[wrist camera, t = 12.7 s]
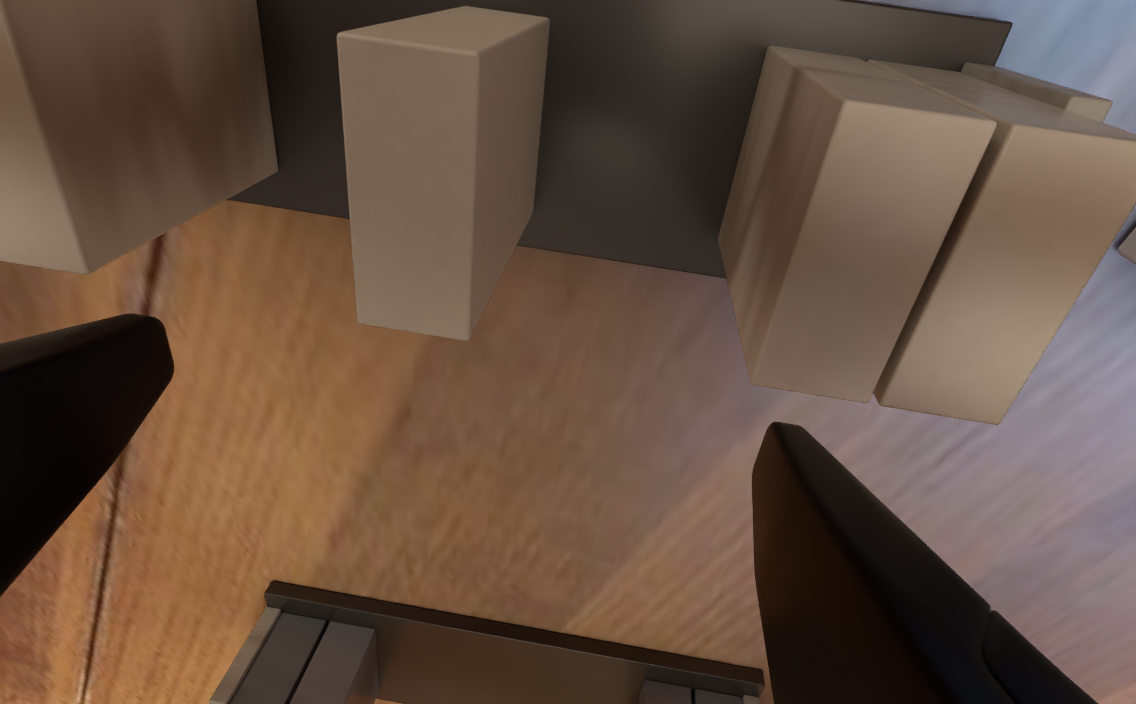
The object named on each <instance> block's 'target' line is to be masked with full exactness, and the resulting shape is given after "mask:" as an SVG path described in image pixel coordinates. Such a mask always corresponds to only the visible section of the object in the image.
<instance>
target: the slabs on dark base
mask: <svg viewBox="0 0 1136 704" xmlns="http://www.w3.org/2000/svg"><path fill="white" fill-rule="evenodd" d="M463 6H470V7H477V8H484V9H491V10H498V11H505V12H512V13H519V14H526V15H533V16H540V17H547V18H549V20H550V28H549V39H548V50H547V62H546V73H545V84H544V95H543V106H542V117H541V129H540V140H539V151H538V162H537V173H536V185H535V196H534V207H533V213H532V215H531V217H530V219H529V221H528V223H527V225H526V227H525V229H524V231H523V233H522V235H521V237H520V239H519V241H518V243H517V245H518V246H525V247H531V248H537V249H544V250H550V251H556V252H563V253H569V254H575V255H582V256H588V257H594V258H601V259H607V260H614V261H620V262H626V263H633V264H639V265H645V266H652V267H658V268H664V269H671V270H677V271H683V272H690V273H696V274H702V275H709V276H715V277H721V278H727V281H728V286H729V290H730V295H731V299H732V304H733V308H734V313H735V317H736V321H737V326H738V330H739V335H740V339H741V344H742V348H743V353H744V357H745V362H746V366H747V371H748V375H749V380H750V383H751V384H753V385H758V386H764V387H770V388H776V389H782V390H788V391H794V392H800V393H806V394H813V395H819V396H825V397H831V398H837V399H843V400H849V401H855V402H861V403H868V402H869V400H870V397H871V395H872V393H874V395H875V397H876V399H877V401H878V403H879V404H880V405H881V406H885V407H891V408H897V409H904V410H910V411H916V412H922V413H928V414H934V415H940V416H946V417H952V418H958V419H964V420H971V421H977V422H983V423H989V424H995V425H998V424H1000V423H1001V421H1002V419H1003V418H1004V416H1005V415H1006V413H1007V411H1008V410H1009V408H1010V407H1011V405H1012V403H1013V402H1014V400H1015V398H1016V397H1017V395H1018V394H1019V392H1020V390H1021V389H1022V387H1023V386H1024V384H1025V382H1026V381H1027V379H1028V377H1029V376H1030V374H1031V373H1032V371H1033V369H1034V368H1035V366H1036V365H1037V363H1038V361H1039V360H1040V358H1041V356H1042V355H1043V353H1044V352H1045V350H1046V348H1047V347H1048V345H1049V344H1050V342H1051V340H1052V339H1053V337H1054V335H1055V334H1056V332H1057V331H1058V329H1059V327H1060V326H1061V324H1062V322H1063V321H1064V319H1065V318H1066V316H1067V314H1068V313H1069V311H1070V310H1071V308H1072V306H1073V305H1074V303H1075V301H1076V300H1077V298H1078V297H1079V295H1080V293H1081V292H1082V290H1083V289H1084V287H1085V285H1086V284H1087V282H1088V280H1089V279H1090V277H1091V276H1092V274H1093V272H1094V271H1095V269H1096V268H1097V266H1098V264H1099V263H1100V261H1101V259H1102V258H1103V256H1104V255H1105V253H1106V251H1107V250H1108V248H1109V247H1110V245H1111V243H1112V242H1113V240H1114V238H1115V237H1116V235H1117V234H1118V232H1119V230H1120V229H1121V227H1122V226H1123V224H1124V222H1125V221H1126V219H1127V217H1128V216H1129V214H1130V213H1131V211H1132V209H1133V208H1134V206H1135V205H1136V134H1133V133H1130V132H1127V131H1124V130H1121V129H1119V128H1116V127H1113V126H1110V125H1107V124H1104V123H1102V122H1103V120H1104V118H1105V116H1106V115H1107V113H1108V111H1109V109H1110V107H1111V105H1112V101H1110V100H1107V99H1104V98H1101V97H1097V96H1094V95H1090V94H1087V93H1084V92H1080V91H1077V90H1074V89H1070V88H1067V87H1063V86H1060V85H1057V84H1053V83H1050V82H1047V81H1043V80H1040V79H1036V78H1033V77H1030V76H1026V75H1023V74H1020V73H1016V72H1013V71H1010V70H1006V69H1003V68H999V67H996V66H995V63H996V61H997V59H998V57H999V54H1000V52H1001V50H1002V48H1003V45H1004V43H1005V41H1006V39H1007V36H1008V34H1009V32H1010V29H1011V27H1012V23H1011V22H1008V21H1001V20H995V19H987V18H980V17H973V16H966V15H959V14H951V13H944V12H937V11H930V10H922V9H915V8H908V7H901V6H894V5H886V4H879V3H872V2H865V1H858V0H0V261H4V262H10V263H17V264H23V265H29V266H35V267H41V268H47V269H53V270H59V271H65V272H71V273H77V274H84V275H86V274H90V273H92V272H94V271H95V270H97V269H99V268H101V267H103V266H105V265H107V264H108V263H110V262H112V261H114V260H116V259H118V258H119V257H121V256H123V255H125V254H127V253H129V252H130V251H132V250H134V249H136V248H138V247H140V246H142V245H143V244H145V243H147V242H149V241H151V240H153V239H154V238H156V237H158V236H160V235H162V234H164V233H165V232H167V231H169V230H171V229H173V228H175V227H177V226H178V225H180V224H182V223H184V222H186V221H188V220H189V219H191V218H193V217H195V216H197V215H199V214H201V213H202V212H204V211H206V210H208V209H210V208H212V207H213V206H215V205H217V204H219V203H221V202H223V201H224V200H226V199H227V200H233V201H239V202H246V203H252V204H258V205H265V206H271V207H277V208H284V209H290V210H296V211H303V212H309V213H315V214H322V215H328V216H334V217H341V218H347V219H350V214H349V200H348V186H347V172H346V159H345V145H344V131H343V118H342V104H341V90H340V76H339V63H338V49H337V34H338V33H340V32H343V31H348V30H353V29H358V28H362V27H367V26H372V25H377V24H381V23H386V22H391V21H396V20H401V19H405V18H410V17H415V16H420V15H424V14H429V13H434V12H439V11H444V10H448V9H453V8H458V7H463Z"/></svg>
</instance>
